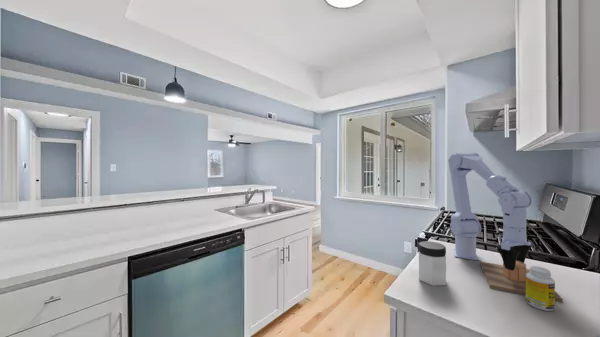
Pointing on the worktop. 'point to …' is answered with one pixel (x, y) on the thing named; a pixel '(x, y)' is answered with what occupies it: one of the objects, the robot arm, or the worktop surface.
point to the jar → (432, 263)
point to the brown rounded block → (516, 272)
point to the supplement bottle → (540, 288)
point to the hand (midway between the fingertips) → (514, 266)
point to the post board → (505, 280)
